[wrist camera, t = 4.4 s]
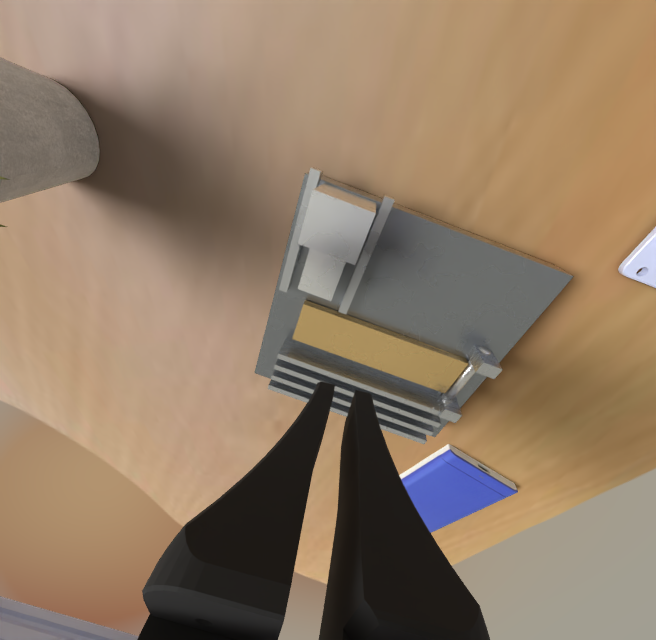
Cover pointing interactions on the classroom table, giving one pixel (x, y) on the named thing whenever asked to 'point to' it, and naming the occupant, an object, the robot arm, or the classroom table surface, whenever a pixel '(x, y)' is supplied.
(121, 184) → the classroom table surface
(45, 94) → the house plant
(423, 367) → the tan rectangular plate
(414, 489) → the hard drive
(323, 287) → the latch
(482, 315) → the grey slotted fixture base
